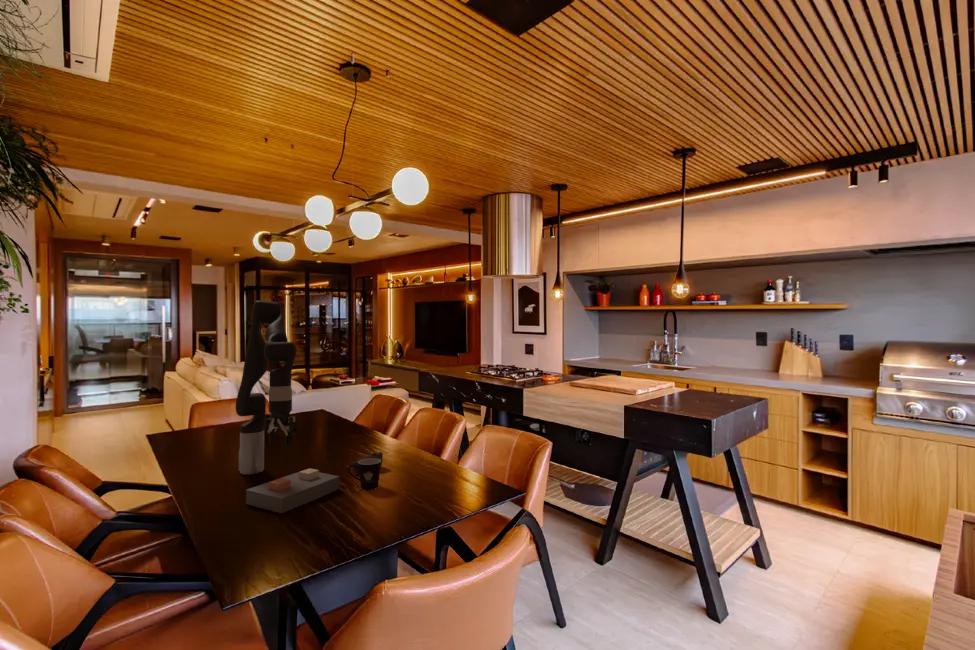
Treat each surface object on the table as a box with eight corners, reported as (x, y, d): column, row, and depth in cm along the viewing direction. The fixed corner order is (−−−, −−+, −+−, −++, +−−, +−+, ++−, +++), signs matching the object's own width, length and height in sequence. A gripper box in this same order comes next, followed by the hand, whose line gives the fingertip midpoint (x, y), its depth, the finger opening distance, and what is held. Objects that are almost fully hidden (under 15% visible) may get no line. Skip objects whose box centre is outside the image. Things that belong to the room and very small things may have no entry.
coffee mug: (385, 484, 185) (385, 459, 185) (372, 492, 176) (373, 465, 176) (359, 481, 188) (359, 456, 188) (346, 488, 180) (346, 462, 180)
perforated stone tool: (355, 476, 196) (355, 459, 196) (349, 473, 199) (349, 456, 199) (386, 468, 206) (386, 452, 206) (380, 466, 210) (380, 450, 210)
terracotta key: (268, 493, 165) (268, 482, 165) (280, 489, 170) (280, 478, 170) (278, 495, 163) (278, 484, 163) (290, 491, 167) (290, 480, 167)
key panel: (246, 504, 165) (246, 489, 165) (305, 482, 188) (305, 469, 188) (281, 513, 156) (281, 498, 156) (339, 489, 179) (339, 476, 179)
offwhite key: (298, 482, 177) (298, 471, 177) (309, 478, 181) (309, 468, 181) (308, 484, 174) (308, 473, 174) (318, 480, 179) (318, 470, 179)
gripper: (257, 398, 166) (257, 444, 166) (285, 401, 160) (285, 449, 160) (275, 395, 173) (275, 440, 173) (303, 398, 167) (303, 444, 166)
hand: (280, 444), depth 166 cm, fingers open, 8 cm apart
